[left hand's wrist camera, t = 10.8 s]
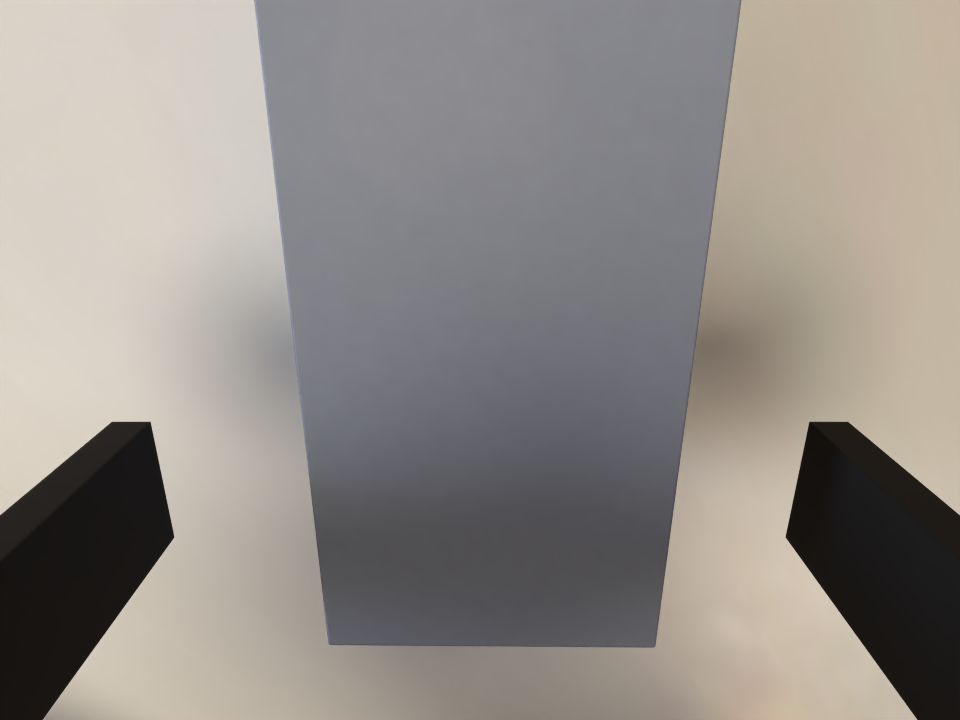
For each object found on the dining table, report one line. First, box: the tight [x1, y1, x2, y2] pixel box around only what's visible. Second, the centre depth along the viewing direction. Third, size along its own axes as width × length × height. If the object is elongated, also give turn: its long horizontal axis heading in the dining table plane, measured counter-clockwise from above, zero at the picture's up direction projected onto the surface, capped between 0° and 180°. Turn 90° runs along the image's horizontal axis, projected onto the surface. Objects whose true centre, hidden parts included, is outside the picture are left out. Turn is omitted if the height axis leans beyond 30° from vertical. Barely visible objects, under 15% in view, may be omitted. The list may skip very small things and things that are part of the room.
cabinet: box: [254, 0, 741, 647], centre depth 14 cm, size 18×6×10 cm, turn 0°
